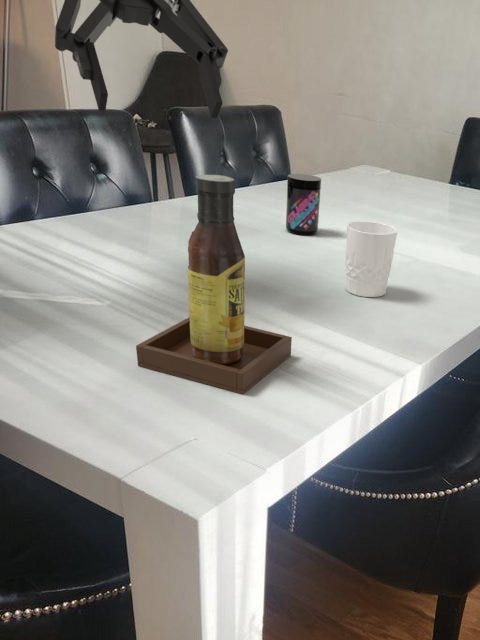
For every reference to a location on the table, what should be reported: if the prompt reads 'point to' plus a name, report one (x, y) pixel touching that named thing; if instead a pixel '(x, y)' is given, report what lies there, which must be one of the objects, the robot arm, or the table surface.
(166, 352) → the tray
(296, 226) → the supplement container
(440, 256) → the table surface
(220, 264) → the sauce bottle
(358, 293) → the white cup
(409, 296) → the table surface
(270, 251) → the table surface
